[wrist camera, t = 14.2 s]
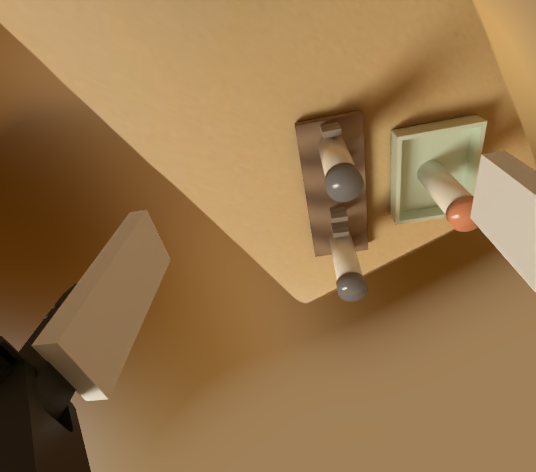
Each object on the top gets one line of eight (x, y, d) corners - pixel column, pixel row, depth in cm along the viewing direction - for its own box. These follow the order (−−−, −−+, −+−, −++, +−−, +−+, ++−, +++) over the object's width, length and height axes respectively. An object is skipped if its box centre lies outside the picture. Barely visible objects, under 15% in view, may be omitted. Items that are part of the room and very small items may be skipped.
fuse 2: (326, 228, 54) (336, 282, 43) (351, 225, 53) (367, 278, 43) (328, 247, 56) (339, 302, 45) (352, 244, 55) (368, 299, 45)
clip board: (294, 122, 45) (295, 133, 42) (360, 110, 44) (367, 119, 40) (314, 251, 58) (316, 267, 55) (366, 244, 57) (371, 260, 53)
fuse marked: (416, 161, 47) (452, 205, 37) (445, 156, 47) (490, 199, 36) (414, 186, 49) (449, 234, 39) (442, 181, 49) (485, 228, 39)
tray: (391, 130, 45) (397, 137, 43) (476, 114, 44) (487, 120, 41) (390, 214, 53) (395, 224, 51) (462, 203, 52) (470, 213, 49)
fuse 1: (314, 133, 45) (324, 172, 34) (344, 128, 44) (363, 165, 34) (318, 160, 47) (327, 204, 37) (346, 155, 46) (364, 199, 36)
